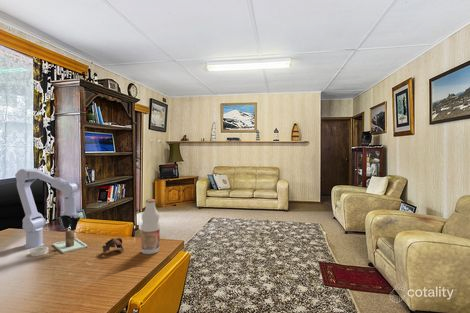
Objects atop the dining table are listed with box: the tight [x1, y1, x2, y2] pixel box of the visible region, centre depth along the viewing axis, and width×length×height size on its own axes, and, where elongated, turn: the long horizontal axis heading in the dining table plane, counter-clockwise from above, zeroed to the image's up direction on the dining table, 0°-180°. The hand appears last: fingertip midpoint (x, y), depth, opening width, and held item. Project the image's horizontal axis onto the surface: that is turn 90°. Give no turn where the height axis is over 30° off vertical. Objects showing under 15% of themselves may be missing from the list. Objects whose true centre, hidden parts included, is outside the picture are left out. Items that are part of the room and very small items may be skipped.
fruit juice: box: [140, 198, 161, 255], centre depth 140 cm, size 9×9×28 cm
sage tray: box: [52, 237, 89, 254], centre depth 145 cm, size 18×12×2 cm, turn 49°
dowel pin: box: [65, 229, 75, 247], centre depth 145 cm, size 4×4×8 cm
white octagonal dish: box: [29, 246, 49, 257], centre depth 134 cm, size 7×7×2 cm
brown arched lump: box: [101, 237, 125, 254], centre depth 139 cm, size 12×10×8 cm
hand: (69, 228), depth 145 cm, fingers open, 7 cm apart
